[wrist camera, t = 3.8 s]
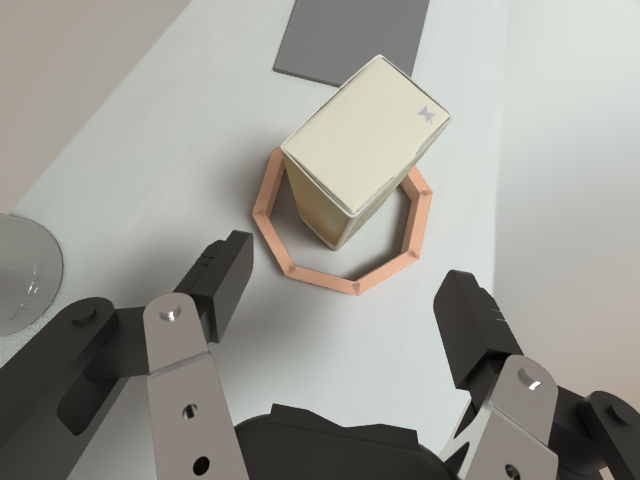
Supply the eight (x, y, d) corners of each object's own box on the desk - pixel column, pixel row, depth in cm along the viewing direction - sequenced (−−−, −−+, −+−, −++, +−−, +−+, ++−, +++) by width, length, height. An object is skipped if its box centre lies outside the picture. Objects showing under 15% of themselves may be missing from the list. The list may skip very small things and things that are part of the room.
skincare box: (348, 167, 24) (384, 43, 12) (386, 201, 23) (462, 110, 11) (294, 219, 23) (273, 143, 11) (332, 256, 23) (353, 219, 10)
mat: (274, 71, 25) (273, 67, 25) (315, -50, 28) (315, -55, 27) (404, 103, 25) (405, 100, 25) (433, -21, 27) (435, -26, 27)
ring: (243, 265, 22) (236, 262, 20) (288, 123, 24) (285, 108, 22) (400, 307, 22) (408, 309, 20) (431, 160, 24) (441, 148, 22)
